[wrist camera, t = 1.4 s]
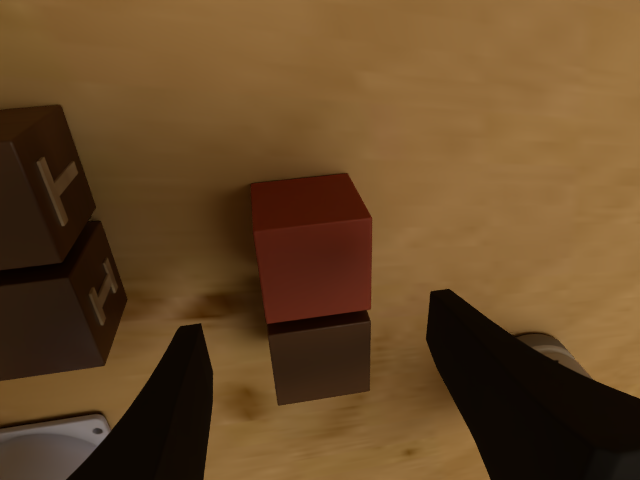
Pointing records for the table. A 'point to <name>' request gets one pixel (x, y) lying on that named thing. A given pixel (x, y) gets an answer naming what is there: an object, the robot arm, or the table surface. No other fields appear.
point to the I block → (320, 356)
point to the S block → (312, 247)
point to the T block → (39, 188)
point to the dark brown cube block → (61, 310)
